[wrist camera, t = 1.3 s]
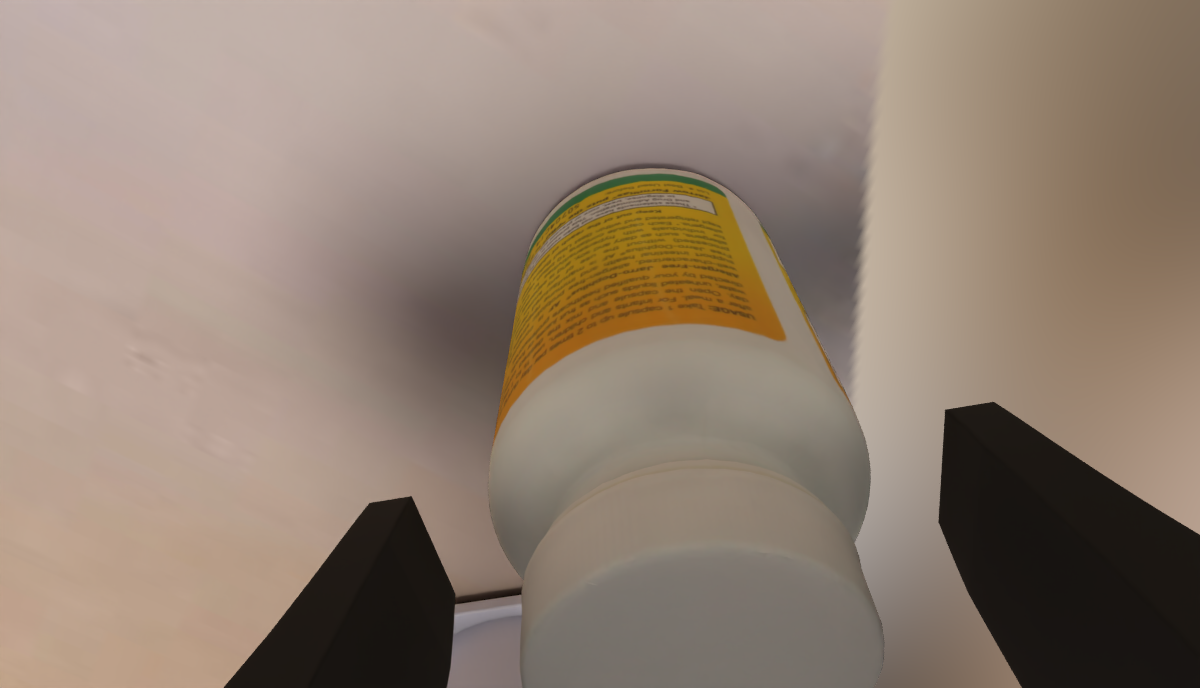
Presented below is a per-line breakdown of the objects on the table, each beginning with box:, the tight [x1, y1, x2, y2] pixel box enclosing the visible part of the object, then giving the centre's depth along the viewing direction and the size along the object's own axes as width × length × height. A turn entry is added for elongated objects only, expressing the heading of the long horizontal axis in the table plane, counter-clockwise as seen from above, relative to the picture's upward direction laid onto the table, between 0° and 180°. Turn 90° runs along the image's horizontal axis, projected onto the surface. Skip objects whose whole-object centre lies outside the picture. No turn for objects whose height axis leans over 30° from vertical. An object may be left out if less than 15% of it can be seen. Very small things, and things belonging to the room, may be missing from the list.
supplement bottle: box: [488, 168, 884, 688], centre depth 12 cm, size 5×5×10 cm
